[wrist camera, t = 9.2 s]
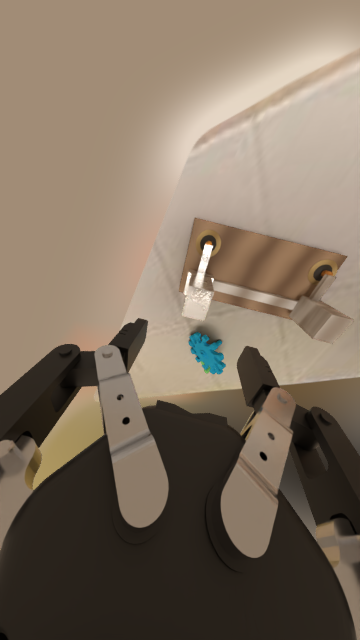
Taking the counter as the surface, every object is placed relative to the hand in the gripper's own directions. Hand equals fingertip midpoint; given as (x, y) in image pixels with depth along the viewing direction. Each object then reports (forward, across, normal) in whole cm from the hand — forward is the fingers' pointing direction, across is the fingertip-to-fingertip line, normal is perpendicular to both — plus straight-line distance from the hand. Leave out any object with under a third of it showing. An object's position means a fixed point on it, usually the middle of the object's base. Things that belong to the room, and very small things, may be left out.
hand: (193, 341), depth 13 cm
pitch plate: (+20, -9, -3) cm, 22 cm away
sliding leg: (+17, 0, -2) cm, 18 cm away
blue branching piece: (+20, -6, +15) cm, 26 cm away
